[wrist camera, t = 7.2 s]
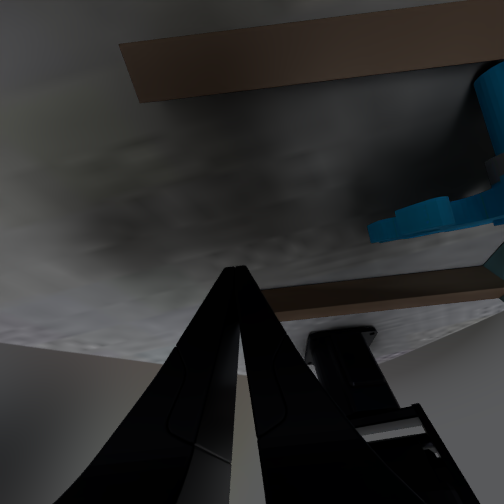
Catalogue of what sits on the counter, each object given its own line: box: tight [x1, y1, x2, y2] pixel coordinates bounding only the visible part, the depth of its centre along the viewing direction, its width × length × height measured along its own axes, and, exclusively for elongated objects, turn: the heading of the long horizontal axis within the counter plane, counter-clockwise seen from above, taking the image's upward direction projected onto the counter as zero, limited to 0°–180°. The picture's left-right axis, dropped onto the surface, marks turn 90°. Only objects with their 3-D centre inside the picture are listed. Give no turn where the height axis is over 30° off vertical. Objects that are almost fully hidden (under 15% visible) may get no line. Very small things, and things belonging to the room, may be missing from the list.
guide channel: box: [119, 0, 504, 322], centre depth 9 cm, size 14×22×4 cm, turn 95°
